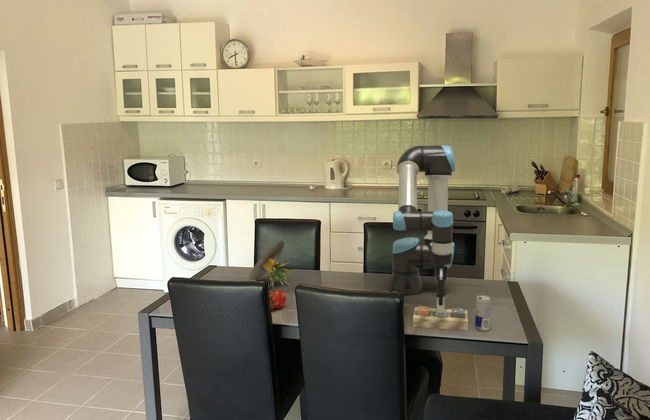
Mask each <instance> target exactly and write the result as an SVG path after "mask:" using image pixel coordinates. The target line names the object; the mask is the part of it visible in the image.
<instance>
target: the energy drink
mask: <svg viewBox="0 0 650 420" xmlns="http://www.w3.org/2000/svg"><path fill="white" fill-rule="evenodd" d="M491 311H492V299H491V297H490V296H489V295H483V294H482V295H481V294H480V295H477V296H476V299H475V317H474V318H475V319H474V322H475V323H474V324H475V325H474V328H475V329H476V330H477V331H481V332H482V331H483V332H487V331H490V329H491Z"/></svg>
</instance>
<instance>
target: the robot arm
mask: <svg viewBox="0 0 650 420" xmlns="http://www.w3.org/2000/svg"><path fill="white" fill-rule="evenodd" d="M455 161H456V160H455V154H454V150H453V148H452V147H451V146H450V145H442V144H441V145H439V144H438V145H436V144H435V145H414V146H411V147H409V148H408V149H407V150H405V151H404V152H403V153H402V154H401V155H400V157H399V159H398V161H397V164H396V173H397V175H398V201H397V202H398V206H397V211H396V210H395V211H393V213H392V214H393V215H392V227H393V228H392V229H393V230H395V231H403V232H405V231H406V232H408V231H409V232H410V231H415V232H416V231H420V232H421V231H422V232H427V234H426V235H425V236H424V238H423V241H420V238H418V237H412V236H411V237H403V238H399V239H397V240H395V241H394V242H393V244H392V252H391V253H392V274H391V277H390V278H389V279H390V280H389V282H388V291H389V290H392V291H397V292H403V293H404V294H405V295H404V296H410V295H411V296H412V295H417V294H420V293H422V292H423V283H422V279H421V277H420V270H419V269H435V273H436V280H437V289H436V290H437V291H436V292H437V293H436V294H435V298H436V309H437V313H444V309H445V296H447V292H445V291H446V289H445V281H446V280H447V271H448V269H450V268H451V266H452V264H453V260H454V253H455V242H454V241H453V232H454V231H453V229H454V227H453V226H454V218H453V217H454V214H453V213H452V212H451V211H448V207H449V206H448V205H449V199H448V198H449V194H448V192H449V180H450V178H451V177H452V176H453V175H452V173H454V172H456V162H455ZM419 173H424V178H425V179H426V180H427V211H420V210H419V211H418V174H419Z"/></svg>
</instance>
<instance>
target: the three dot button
mask: <svg viewBox="0 0 650 420" xmlns="http://www.w3.org/2000/svg"><path fill="white" fill-rule="evenodd" d="M434 316H437V317H447V312H446V311H444V313H437V311H435V313H434Z"/></svg>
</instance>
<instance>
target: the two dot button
mask: <svg viewBox="0 0 650 420" xmlns="http://www.w3.org/2000/svg"><path fill="white" fill-rule="evenodd" d="M451 309H452V318H464V310H465V308H456V307H455V308H453V307H452V308H451Z"/></svg>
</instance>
